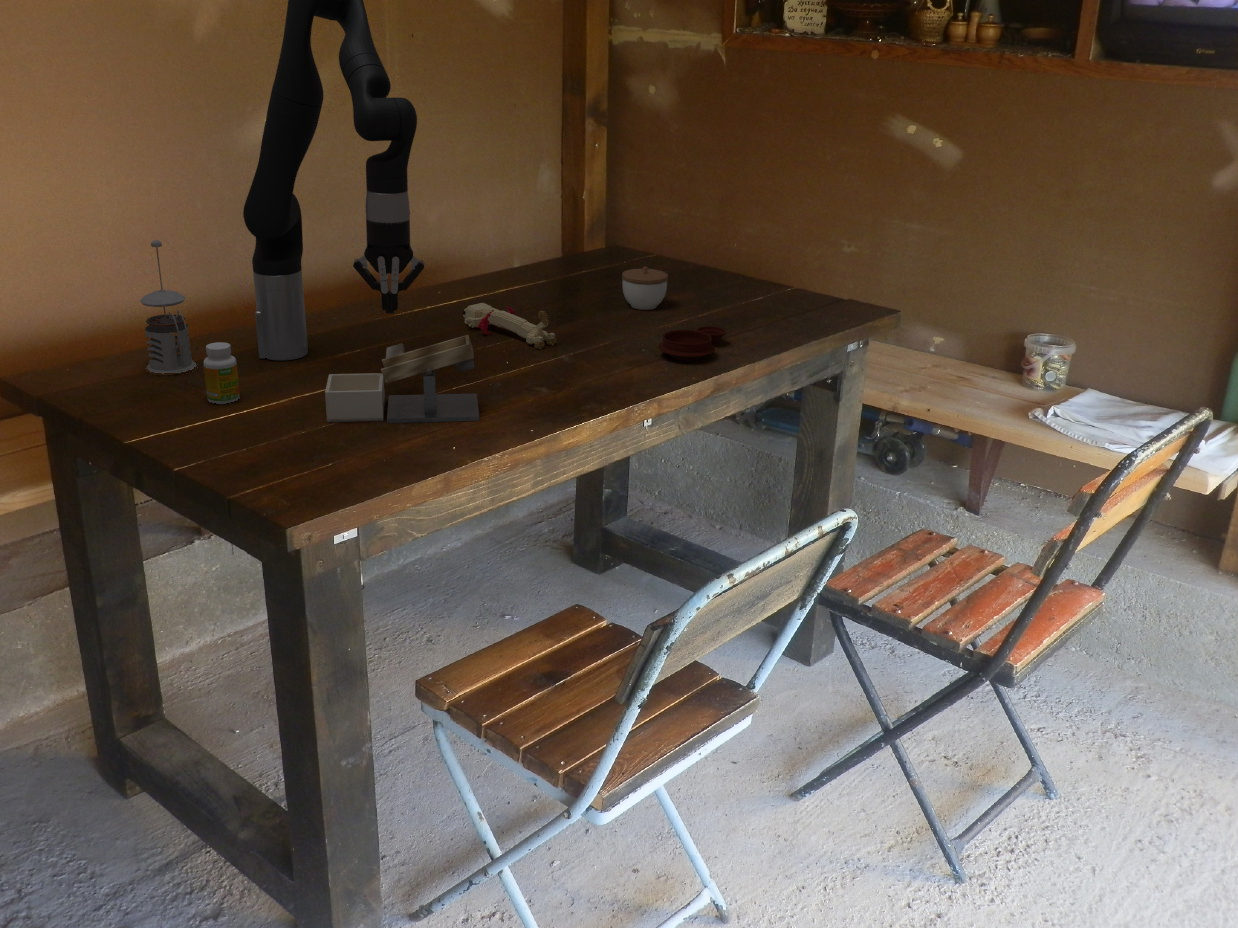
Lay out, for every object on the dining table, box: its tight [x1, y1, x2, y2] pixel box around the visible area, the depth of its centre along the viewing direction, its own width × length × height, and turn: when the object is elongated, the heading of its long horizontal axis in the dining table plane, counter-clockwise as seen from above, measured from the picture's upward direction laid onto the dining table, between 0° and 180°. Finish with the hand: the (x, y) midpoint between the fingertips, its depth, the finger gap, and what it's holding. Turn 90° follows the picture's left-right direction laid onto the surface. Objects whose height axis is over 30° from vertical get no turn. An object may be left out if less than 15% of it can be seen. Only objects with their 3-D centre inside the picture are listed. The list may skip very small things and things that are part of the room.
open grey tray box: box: [324, 372, 386, 423], centre depth 213 cm, size 10×10×6 cm
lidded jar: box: [621, 266, 669, 311], centre depth 281 cm, size 11×11×9 cm
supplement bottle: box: [203, 342, 241, 405], centre depth 216 cm, size 6×6×10 cm
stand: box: [386, 369, 480, 424], centre depth 215 cm, size 16×12×8 cm
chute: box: [380, 334, 475, 384], centre depth 216 cm, size 16×15×4 cm
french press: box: [139, 239, 198, 374], centre depth 228 cm, size 10×12×25 cm
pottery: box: [658, 325, 727, 362], centre depth 252 cm, size 12×20×4 cm, turn 149°
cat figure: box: [462, 302, 558, 350], centre depth 258 cm, size 10×9×25 cm
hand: (390, 312), depth 217 cm, fingers closed
